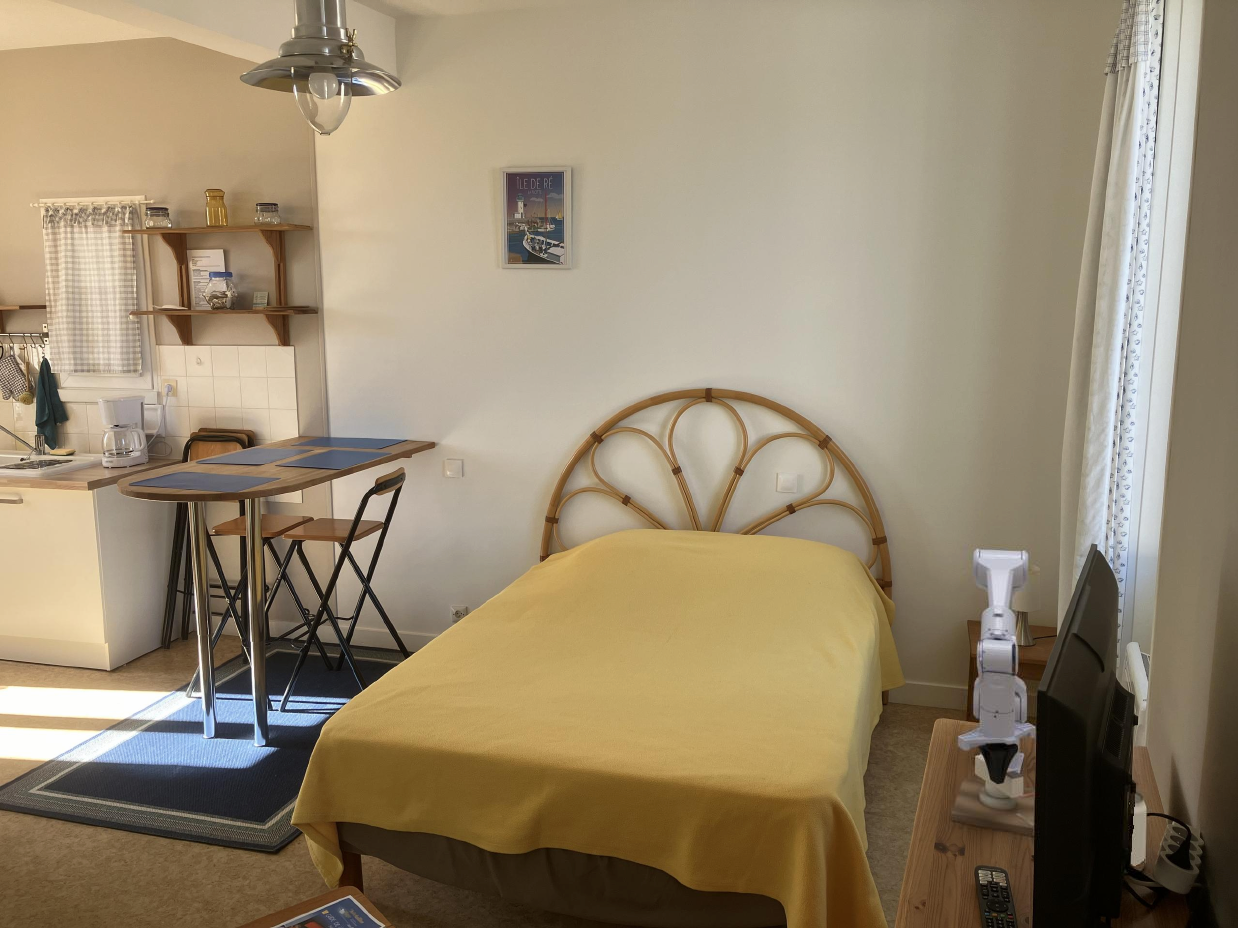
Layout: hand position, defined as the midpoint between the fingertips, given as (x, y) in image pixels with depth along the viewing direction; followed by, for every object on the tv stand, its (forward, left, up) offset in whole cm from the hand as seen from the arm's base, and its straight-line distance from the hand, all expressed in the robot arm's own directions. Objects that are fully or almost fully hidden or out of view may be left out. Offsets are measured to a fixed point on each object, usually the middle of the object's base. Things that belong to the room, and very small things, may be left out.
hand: (996, 781), depth 167 cm
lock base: (-5, 0, -8) cm, 10 cm away
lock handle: (-5, 0, -5) cm, 7 cm away
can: (+6, +20, -8) cm, 22 cm away
